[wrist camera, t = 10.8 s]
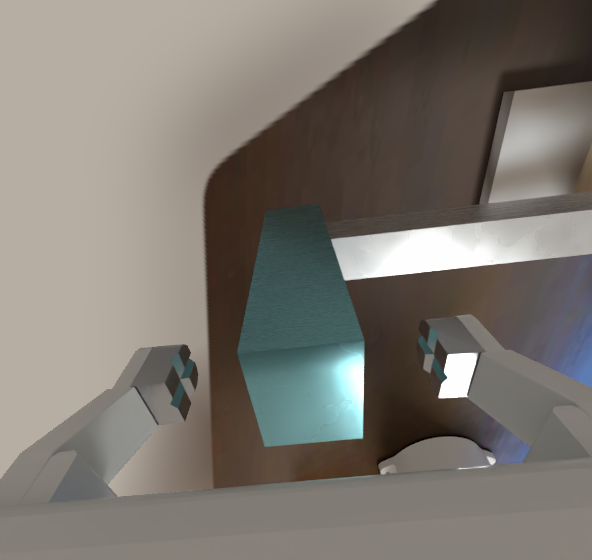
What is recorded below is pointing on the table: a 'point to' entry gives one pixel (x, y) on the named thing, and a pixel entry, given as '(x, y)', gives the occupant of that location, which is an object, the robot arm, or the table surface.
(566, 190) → the stand
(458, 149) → the table surface
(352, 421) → the shaft
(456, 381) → the robot arm
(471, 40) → the table surface
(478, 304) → the table surface
